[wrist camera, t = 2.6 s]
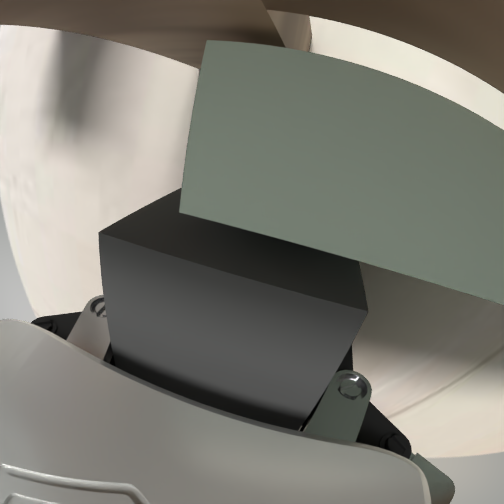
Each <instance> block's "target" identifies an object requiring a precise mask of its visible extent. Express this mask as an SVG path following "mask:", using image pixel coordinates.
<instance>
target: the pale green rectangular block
mask: <svg viewBox="0 0 504 504" xmlns="http://www.w3.org/2000/svg"><path fill="white" fill-rule="evenodd" d="M179 212H180V213H184V214H188V215H191V216H195V217H199V218H203V219H207V220H211V221H215V222H219V223H222V224H226V225H230V226H234V227H238V228H241V229H245V230H249V231H253V232H256V233H260V234H264V235H267V236H271V237H275V238H278V239H282V240H286V241H289V242H293V243H297V244H300V245H304V246H307V247H311V248H315V249H318V250H322V251H325V252H329V253H332V254H336V255H339V256H343V257H346V258H350V259H353V260H357V261H360V262H364V263H367V264H371V265H374V266H378V267H381V268H384V269H388V270H391V271H394V272H398V273H401V274H405V275H408V276H411V277H415V278H418V279H421V280H424V281H428V282H431V283H434V284H438V285H441V286H444V287H447V288H451V289H454V290H457V291H460V292H463V293H467V294H470V295H473V296H476V297H479V298H482V299H485V300H489V301H492V302H495V303H498V304H501V305H504V130H502V129H501V128H499V127H497V126H496V125H494V124H493V123H491V122H489V121H488V120H486V119H484V118H483V117H481V116H479V115H477V114H476V113H474V112H472V111H470V110H468V109H466V108H465V107H463V106H461V105H459V104H457V103H455V102H453V101H451V100H449V99H447V98H445V97H443V96H441V95H438V94H436V93H434V92H432V91H430V90H427V89H425V88H423V87H420V86H418V85H416V84H413V83H411V82H408V81H406V80H403V79H400V78H398V77H395V76H392V75H389V74H387V73H384V72H381V71H378V70H375V69H372V68H368V67H365V66H362V65H359V64H355V63H352V62H348V61H344V60H341V59H337V58H333V57H329V56H324V55H320V54H315V53H311V52H306V51H301V50H295V49H289V48H283V47H277V46H270V45H262V44H254V43H244V42H232V41H216V40H207V41H206V46H205V50H204V55H203V60H202V64H201V69H200V74H199V79H198V84H197V90H196V95H195V101H194V106H193V112H192V118H191V124H190V131H189V137H188V144H187V151H186V158H185V166H184V173H183V182H182V190H181V199H180V209H179Z"/></svg>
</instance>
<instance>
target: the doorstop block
mask: <svg viewBox="0 0 504 504" xmlns="http://www.w3.org/2000/svg"><path fill="white" fill-rule="evenodd" d="M181 190H182V188H180V189H178V190H176V191H174V192H172V193H170V194H168V195H166V196H164V197H162V198H160V199H158V200H156V201H154V202H152V203H150V204H149V205H147V206H145V207H143V208H141V209H139V210H137V211H135V212H134V213H132V214H130V215H128V216H126V217H124V218H123V219H121V220H119V221H117V222H116V223H114V224H112V225H110V226H108V227H107V228H105V229H103V230H102V231H100V232H98V233H99V252H100V265H101V276H102V286H103V294H104V302H105V310H106V317H107V323H108V329H109V335H110V341H111V346H112V351H113V356H114V361H115V366H116V367H117V368H119V369H121V370H123V371H125V372H127V373H129V374H131V375H133V376H136V377H138V378H140V379H142V380H145V381H147V382H149V383H151V384H154V385H156V386H158V387H161V388H163V389H165V390H168V391H170V392H173V393H175V394H178V395H180V396H183V397H186V398H188V399H191V400H194V401H196V402H199V403H202V404H205V405H208V406H211V407H214V408H216V409H220V410H223V411H226V412H229V413H232V414H235V415H239V416H242V417H245V418H249V419H252V420H256V421H259V422H263V423H267V424H271V425H275V426H279V427H283V428H287V429H292V430H296V431H298V430H299V429H300V428H301V426H302V425H303V423H304V422H305V420H306V419H307V417H308V416H309V414H310V413H311V411H312V410H313V408H314V407H315V405H316V404H317V402H318V400H319V399H320V397H321V396H322V394H323V392H324V391H325V389H326V388H327V386H328V384H329V383H330V381H331V379H332V378H333V376H334V374H335V373H336V371H337V369H338V367H339V366H340V364H341V362H342V360H343V359H344V357H345V355H346V353H347V352H348V350H349V348H350V346H351V344H352V342H353V340H354V339H355V337H356V335H357V333H358V331H359V329H360V327H361V325H362V323H363V321H364V319H365V317H366V315H367V313H368V307H367V301H366V296H365V291H364V286H363V281H362V276H361V271H360V267H359V262H358V261H357V260H353V259H350V258H346V257H343V256H339V255H336V254H332V253H329V252H325V251H322V250H318V249H315V248H311V247H307V246H304V245H300V244H297V243H293V242H289V241H286V240H282V239H278V238H275V237H271V236H267V235H264V234H260V233H256V232H253V231H249V230H245V229H241V228H238V227H234V226H230V225H226V224H222V223H219V222H215V221H211V220H207V219H203V218H199V217H195V216H191V215H188V214H184V213H180V212H179V209H180V199H181Z"/></svg>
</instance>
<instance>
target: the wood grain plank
mask: <svg viewBox="0 0 504 504" xmlns="http://www.w3.org/2000/svg"><path fill="white" fill-rule="evenodd" d="M309 16H314V17H319V18H324V19H328V20H333V21H337V22H341V23H345V24H349V25H353V26H357V27H360V28H364V29H367V30H370V31H374V32H377V33H380V34H383V35H386V36H389V37H392V38H394V39H397V40H400V41H403V42H405V43H408V44H410V45H413V46H415V47H418V48H420V49H422V50H425V51H427V52H429V53H432V54H434V55H436V56H438V57H440V58H442V59H444V60H446V61H448V62H451V63H452V64H454V65H456V66H458V67H460V68H462V69H464V70H466V71H468V72H469V73H471V74H473V75H475V76H476V77H478V78H480V79H482V80H483V81H485V82H487V83H488V84H490V85H491V86H493V87H494V88H496V89H498V90H499V91H501V92H502V93H504V0H0V25H19V26H31V27H40V28H48V29H55V30H62V31H68V32H73V33H79V34H84V35H89V36H93V37H98V38H102V39H106V40H111V41H115V42H118V43H122V44H126V45H129V46H133V47H136V48H140V49H143V50H146V51H150V52H153V53H156V54H159V55H162V56H165V57H168V58H171V59H174V60H177V61H179V62H182V63H185V64H187V65H190V66H193V67H195V68H198V69H201V64H202V60H203V55H204V50H205V46H206V41H207V40H216V41H232V42H244V43H254V44H262V45H270V46H277V47H283V48H289V49H295V50H301V51H306V52H309V47H310V43H311V38H312V32H311V25H310V18H309Z"/></svg>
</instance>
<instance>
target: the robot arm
mask: <svg viewBox="0 0 504 504" xmlns="http://www.w3.org/2000/svg"><path fill="white" fill-rule="evenodd" d="M371 393H372V389H371V385H370V383H369V382H368V380H367V379H366V378H365V377H364V376H363V375H361V374H360V373H358V372H355V371H353V360H352V344H351V346H350V348H349V350H348V352H347V353H346V355H345V357H344V359H343V360H342V362H341V364H340V366H339V367H338V369H337V371H336V373H335V374H334V376H333V378H332V379H331V381H330V383H329V384H328V386H327V388H326V389H325V391H324V392H323V394H322V396H321V397H320V399H319V400H318V402H317V404H316V405H315V407H314V408H313V410H312V411H311V413H310V414H309V416H308V417H307V419H306V420H305V422H304V423H303V425H302V426H301V428H300V429H299V431H296V430H292V429H287V428H283V427H279V426H275V425H271V424H267V423H263V422H259V421H256V420H252V419H249V418H245V417H242V416H239V415H235V414H232V413H229V412H226V411H223V410H220V409H216V408H214V407H211V406H208V405H205V404H202V403H199V402H196V401H194V400H191V399H188V398H186V397H183V396H180V395H178V394H175V393H173V392H170V391H168V390H165V389H163V388H161V387H158V386H156V385H154V384H151V383H149V382H147V381H145V380H142V379H140V378H138V377H136V376H133V375H131V374H129V373H127V372H125V371H123V370H121V369H119V368H117V367H116V366H115V361H114V356H113V351H112V346H111V341H110V335H109V329H108V323H107V317H106V310H105V302H104V295H99V296H96V297H94V298H92V299H91V300H90V301H89V302H88V303H87V304H86V306H85V308H84V310H83V311H82V312H75V313H68V314H60V315H52V316H44V317H40V318H37V319H36V320H34V321H32V322H31V323H28V322H25V321H20V320H15V319H2V320H0V504H450V502H451V500H452V498H453V496H454V493H455V486H454V483H453V481H452V480H451V479H450V478H449V477H448V476H447V475H445V474H444V473H443V472H441V471H440V470H439V469H437V468H436V467H435V466H434V465H432V464H431V463H430V462H428V461H427V460H426V459H425V458H423V457H422V456H421V455H420V454H418V453H417V454H415V455H414V454H413V453H412V451H411V445H410V442H409V440H408V439H407V438H406V436H405V435H404V434H402V433H401V432H400V431H399V430H398V429H397V428H396V427H395V426H394V425H393V424H392V423H391V422H390V421H389V420H388V419H387V418H386V417H385V416H384V415H383V414H382V413H381V412H380V411H379V410H378V409H377V408H376V407H375V406H374V405H373V404H372V403H371V402H370V397H371Z"/></svg>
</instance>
